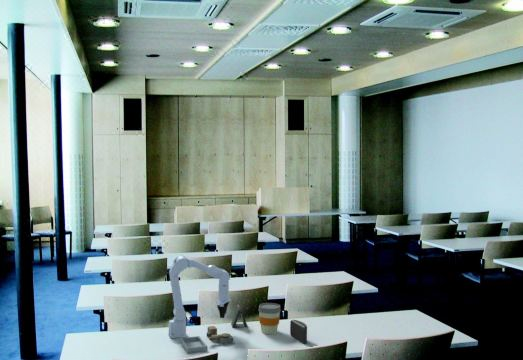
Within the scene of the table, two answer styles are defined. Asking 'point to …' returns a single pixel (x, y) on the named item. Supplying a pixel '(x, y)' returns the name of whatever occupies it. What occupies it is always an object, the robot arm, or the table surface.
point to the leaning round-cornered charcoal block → (298, 330)
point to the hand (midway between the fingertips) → (223, 315)
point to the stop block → (212, 331)
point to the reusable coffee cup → (269, 317)
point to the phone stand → (237, 318)
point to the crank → (217, 335)
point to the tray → (193, 344)
